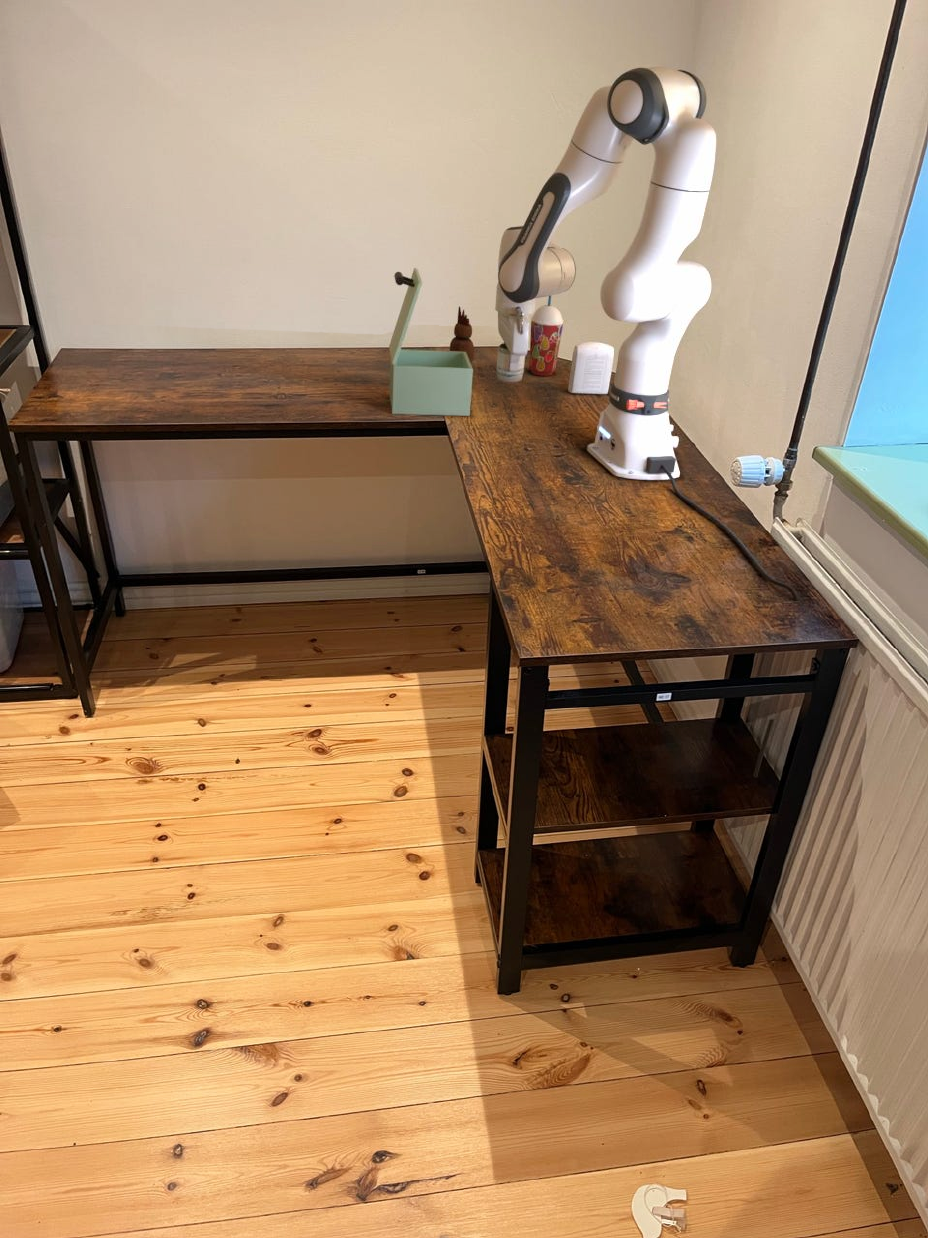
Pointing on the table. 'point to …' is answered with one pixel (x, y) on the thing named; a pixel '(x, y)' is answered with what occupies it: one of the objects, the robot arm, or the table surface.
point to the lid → (404, 311)
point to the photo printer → (591, 368)
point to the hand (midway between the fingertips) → (510, 364)
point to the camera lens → (503, 366)
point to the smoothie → (545, 339)
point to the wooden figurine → (463, 336)
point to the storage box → (431, 383)
